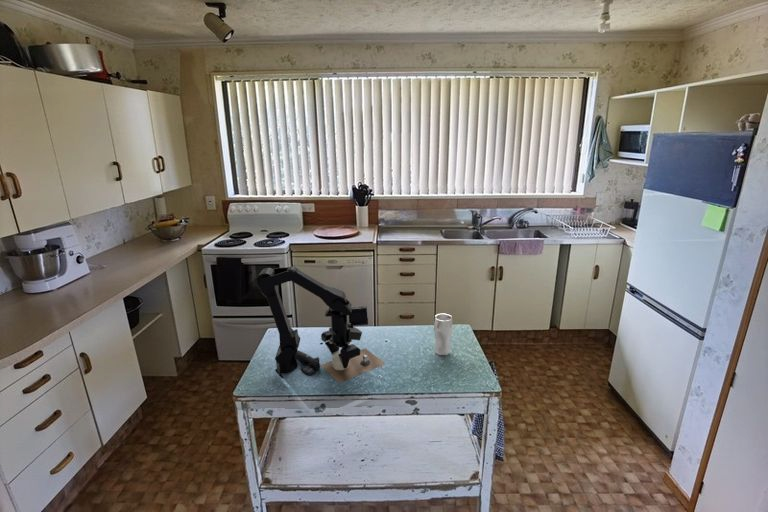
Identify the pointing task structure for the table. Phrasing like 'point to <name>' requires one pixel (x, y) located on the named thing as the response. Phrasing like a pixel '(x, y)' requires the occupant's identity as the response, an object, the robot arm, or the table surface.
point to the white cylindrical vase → (442, 333)
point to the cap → (337, 361)
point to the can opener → (308, 363)
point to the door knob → (365, 360)
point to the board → (354, 366)
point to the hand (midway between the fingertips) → (341, 364)
